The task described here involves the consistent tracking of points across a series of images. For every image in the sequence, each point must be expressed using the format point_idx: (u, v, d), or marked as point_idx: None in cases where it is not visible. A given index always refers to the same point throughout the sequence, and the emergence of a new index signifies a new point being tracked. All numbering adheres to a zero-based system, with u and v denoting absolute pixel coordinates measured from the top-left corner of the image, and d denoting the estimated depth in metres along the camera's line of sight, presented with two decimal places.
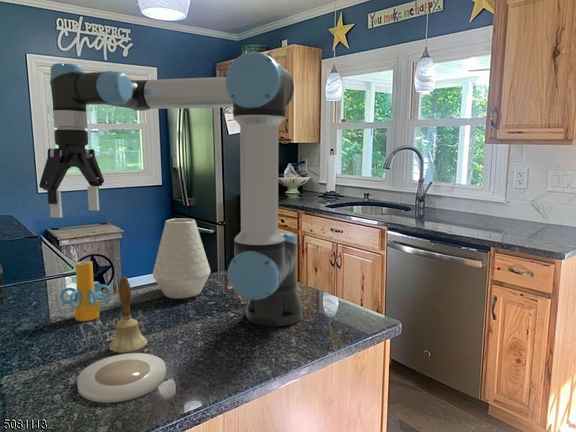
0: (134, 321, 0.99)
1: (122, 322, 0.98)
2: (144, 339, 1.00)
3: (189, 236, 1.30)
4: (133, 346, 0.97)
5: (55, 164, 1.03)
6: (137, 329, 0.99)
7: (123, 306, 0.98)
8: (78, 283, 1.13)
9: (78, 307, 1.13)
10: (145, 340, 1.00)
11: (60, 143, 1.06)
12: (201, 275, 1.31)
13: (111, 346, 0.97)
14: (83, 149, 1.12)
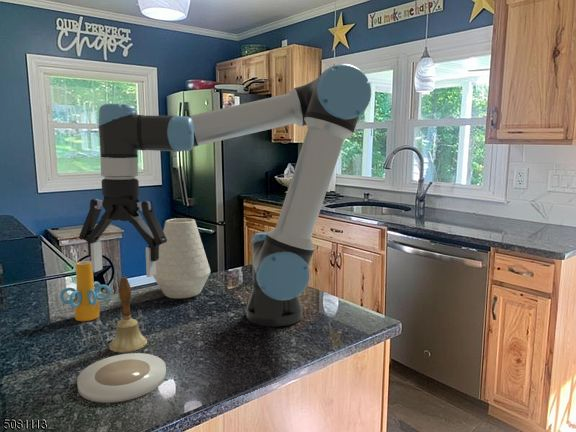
0: (134, 321, 0.99)
1: (122, 322, 0.98)
2: (144, 339, 1.00)
3: (189, 236, 1.30)
4: (133, 346, 0.97)
5: (88, 215, 0.96)
6: (137, 329, 0.99)
7: (123, 306, 0.98)
8: (78, 283, 1.13)
9: (78, 307, 1.13)
10: (145, 340, 1.00)
11: None
12: (201, 275, 1.31)
13: (111, 346, 0.97)
14: (129, 201, 0.93)
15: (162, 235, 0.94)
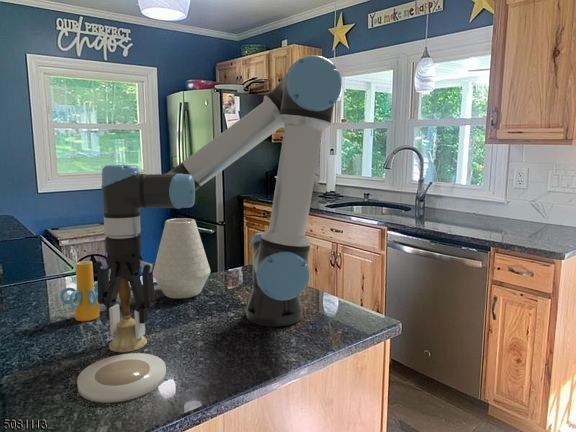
0: (134, 321, 0.99)
1: (122, 322, 0.98)
2: (144, 339, 1.00)
3: (189, 236, 1.30)
4: (133, 346, 0.97)
5: (98, 278, 0.98)
6: None
7: (123, 306, 0.98)
8: (78, 283, 1.13)
9: (78, 307, 1.13)
10: (145, 340, 1.00)
11: None
12: (201, 275, 1.31)
13: (111, 346, 0.97)
14: (132, 258, 0.95)
15: (152, 299, 0.97)
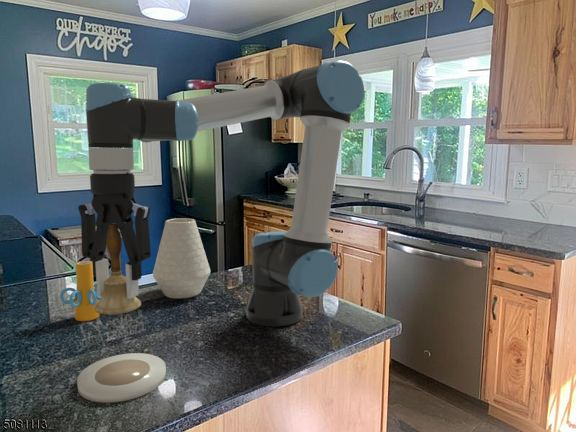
0: (125, 278, 0.82)
1: (110, 278, 0.81)
2: (137, 300, 0.83)
3: (190, 236, 1.30)
4: (124, 308, 0.80)
5: (82, 226, 0.81)
6: None
7: (112, 259, 0.81)
8: (78, 283, 1.13)
9: (78, 307, 1.13)
10: (138, 302, 0.83)
11: None
12: (201, 275, 1.31)
13: (97, 307, 0.80)
14: (123, 200, 0.78)
15: (147, 250, 0.80)
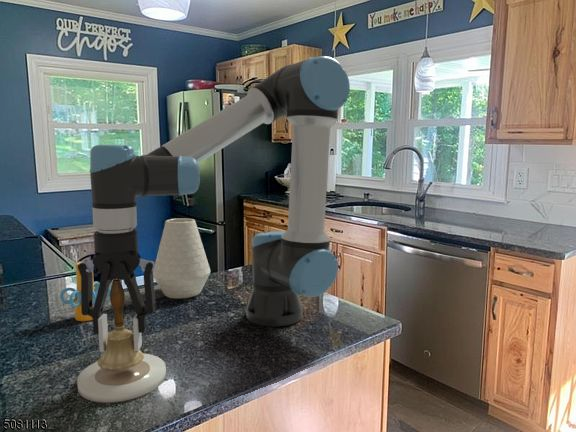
0: (129, 331, 0.84)
1: (115, 334, 0.82)
2: (140, 351, 0.86)
3: (189, 236, 1.30)
4: (132, 361, 0.82)
5: (82, 284, 0.80)
6: (133, 340, 0.84)
7: (116, 314, 0.82)
8: (78, 283, 1.13)
9: (78, 307, 1.13)
10: (141, 352, 0.86)
11: None
12: (201, 275, 1.31)
13: (103, 364, 0.81)
14: (130, 256, 0.80)
15: (154, 302, 0.83)
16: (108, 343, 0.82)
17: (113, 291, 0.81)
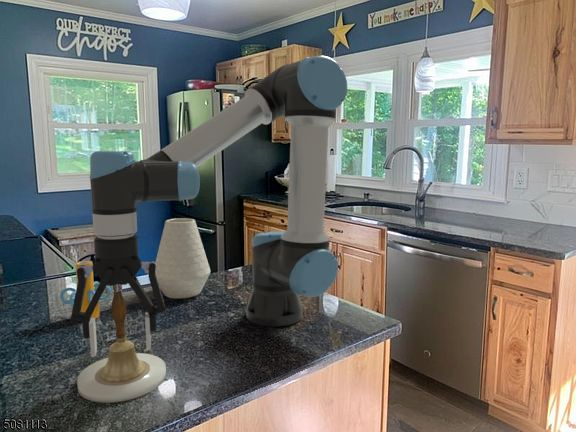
0: (130, 342, 0.84)
1: (118, 346, 0.82)
2: (140, 361, 0.87)
3: (189, 236, 1.30)
4: (137, 371, 0.83)
5: (78, 289, 0.79)
6: (134, 350, 0.85)
7: (119, 326, 0.82)
8: None
9: None
10: None
11: None
12: (201, 275, 1.31)
13: (108, 377, 0.81)
14: (132, 261, 0.81)
15: (163, 300, 0.85)
16: (111, 356, 0.82)
17: (116, 303, 0.81)
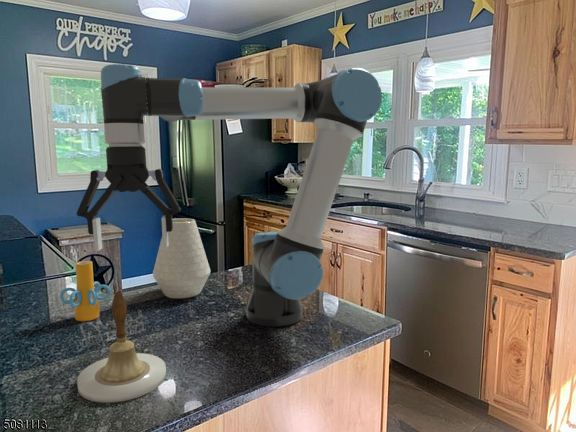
0: (130, 342, 0.84)
1: (119, 346, 0.82)
2: (140, 361, 0.87)
3: (190, 236, 1.30)
4: (137, 371, 0.83)
5: (88, 189, 0.87)
6: None
7: (119, 326, 0.82)
8: (78, 283, 1.13)
9: (78, 307, 1.13)
10: (142, 362, 0.87)
11: None
12: (201, 275, 1.31)
13: (108, 377, 0.81)
14: (139, 170, 0.88)
15: (177, 204, 0.91)
16: (111, 355, 0.82)
17: (116, 303, 0.81)
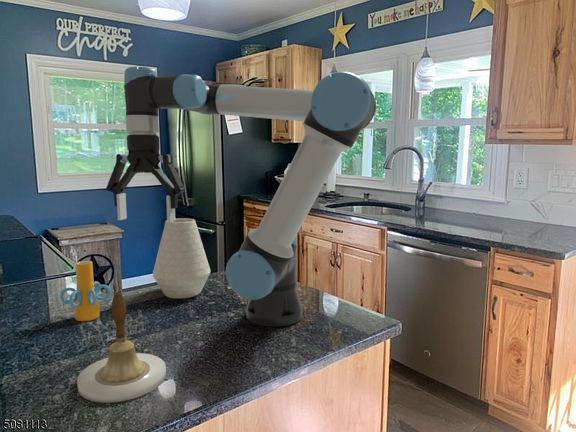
0: (130, 342, 0.84)
1: (118, 346, 0.82)
2: (140, 361, 0.87)
3: (189, 236, 1.30)
4: (137, 371, 0.83)
5: (114, 169, 1.08)
6: (134, 350, 0.85)
7: (119, 327, 0.82)
8: (78, 283, 1.13)
9: (78, 307, 1.13)
10: (142, 362, 0.87)
11: None
12: (201, 275, 1.31)
13: (108, 377, 0.81)
14: (151, 154, 1.05)
15: (181, 185, 1.06)
16: (111, 356, 0.82)
17: (116, 303, 0.81)
